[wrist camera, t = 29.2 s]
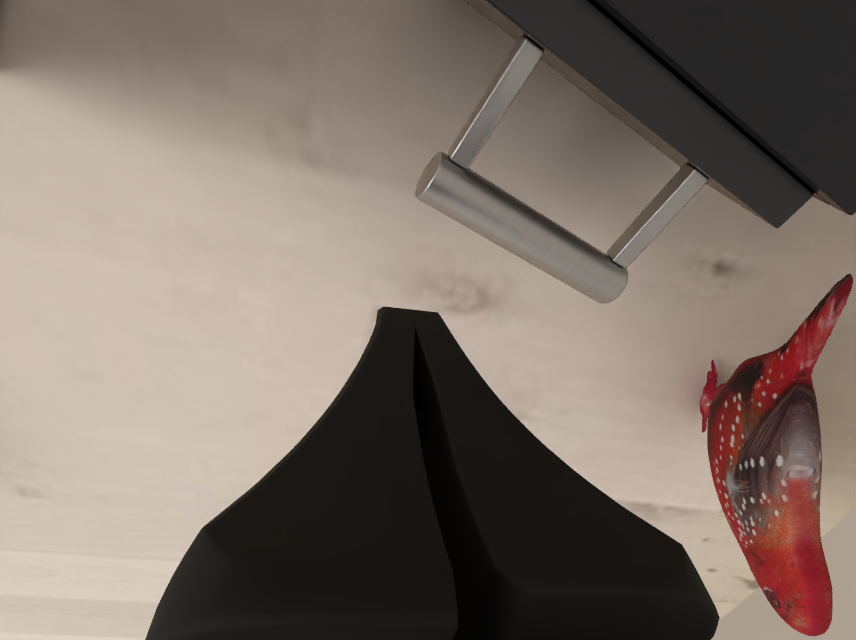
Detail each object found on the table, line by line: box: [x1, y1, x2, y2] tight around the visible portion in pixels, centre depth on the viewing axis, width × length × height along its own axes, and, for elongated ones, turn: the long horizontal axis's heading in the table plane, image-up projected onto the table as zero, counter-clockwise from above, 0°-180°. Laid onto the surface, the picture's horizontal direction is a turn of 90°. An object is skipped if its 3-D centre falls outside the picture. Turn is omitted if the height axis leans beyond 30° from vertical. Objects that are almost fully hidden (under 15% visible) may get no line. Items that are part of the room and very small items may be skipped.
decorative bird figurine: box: [700, 274, 853, 636], centre depth 21 cm, size 3×18×10 cm, turn 12°
